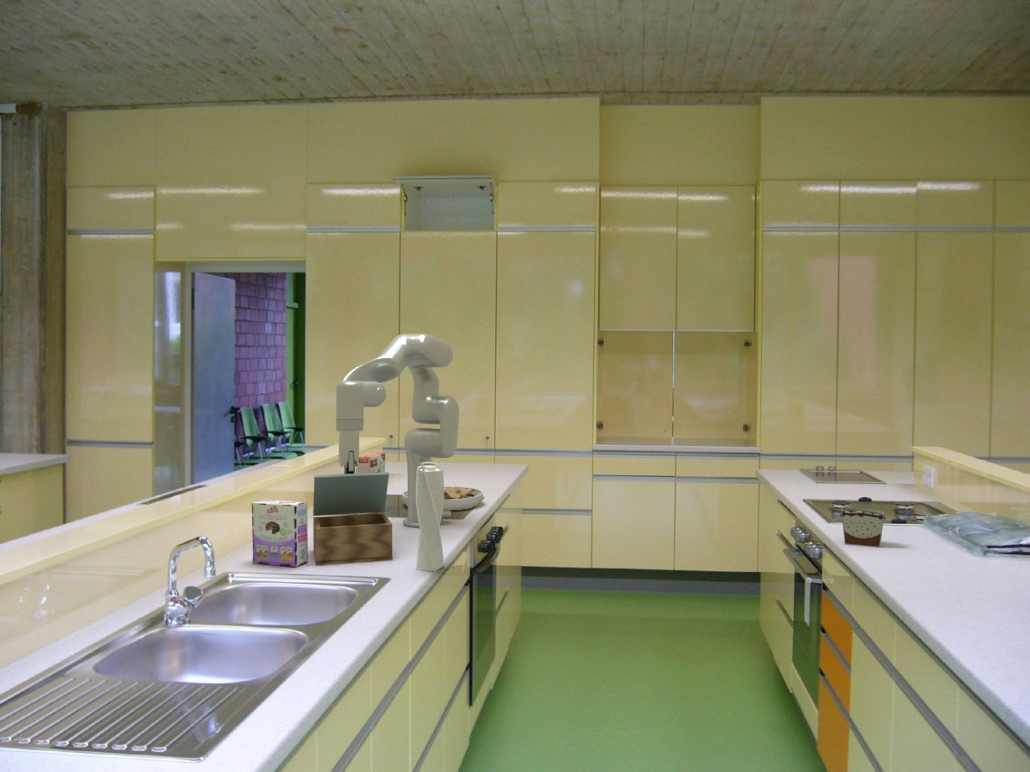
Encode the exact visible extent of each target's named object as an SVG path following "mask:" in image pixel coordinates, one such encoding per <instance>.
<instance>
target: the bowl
mask: <svg viewBox="0 0 1030 772" xmlns="http://www.w3.org/2000/svg"><path fill="white" fill-rule="evenodd" d="M483 497H484V492H483V491H482V490H480V489H478V488H474V487H465V486H461V487H460V486H444V504H443V510H454V509H464V508H470V507H473V508H475V507H474V506H476V507H477V506H478V505H480V504H481V503H482V501H483ZM401 498H402V501H403V503H404V505H405V506H407V507H408V490H406V491H404V492H402V494H401Z"/></svg>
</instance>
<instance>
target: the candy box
mask: <svg viewBox="0 0 1030 772" xmlns="http://www.w3.org/2000/svg"><path fill="white" fill-rule="evenodd" d="M251 522H252V523H251V524H252V526H251V529H252V531H251V533H252V536H251V537H252V563H253V564H255V563H256V565H257V564H258V565H268V566H278V567H279V566H280V567H291V568H295V567H296V568H297V567H299V566H301V565H304V564H307V563H308V562H309V547H308V546H309V545H308V543H309V542H308V539H309V535H308V529H309V528H308V527H309V526H308V502H307V501H296V500H281V499H280V500H279V499H262V500H258V501H253V502H251Z"/></svg>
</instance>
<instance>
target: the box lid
mask: <svg viewBox="0 0 1030 772" xmlns="http://www.w3.org/2000/svg"><path fill="white" fill-rule="evenodd" d="M313 478H314V479H313V508H312V509H313V510H312V514H313V515H312V516H313V517H319V516H337V515H355V514H356V513H372V512H378V513H385V509H386V502H387V494H388V485H389V479H390V472H389V471H388V472H386V471H385V472H382V473H358V474H356V473H355V474H344V473H335V474H316V475H315V474H314V477H313Z"/></svg>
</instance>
